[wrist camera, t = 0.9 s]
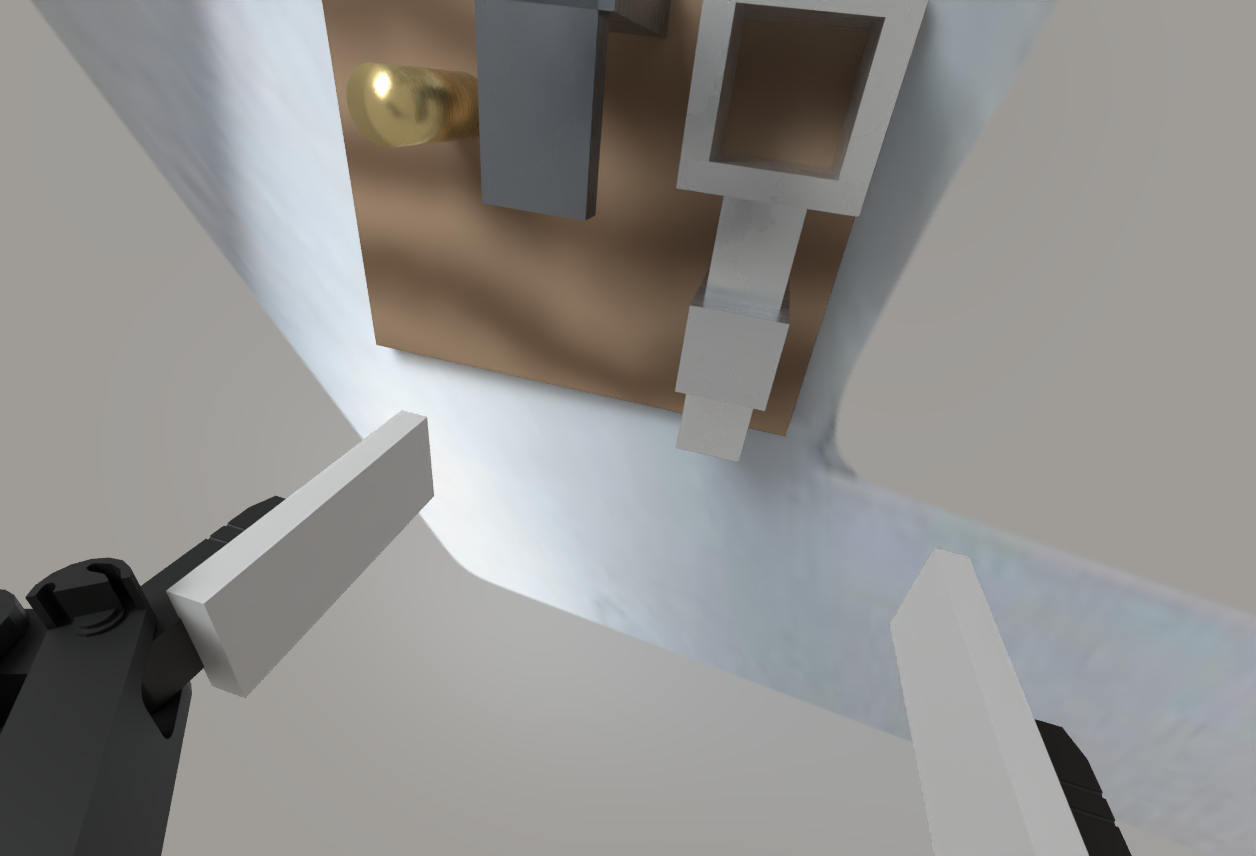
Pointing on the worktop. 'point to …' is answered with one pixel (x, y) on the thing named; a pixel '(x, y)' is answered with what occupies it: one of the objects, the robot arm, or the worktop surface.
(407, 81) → the brass rounded cylinder
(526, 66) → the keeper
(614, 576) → the worktop surface
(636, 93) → the board
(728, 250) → the link
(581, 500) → the worktop surface
